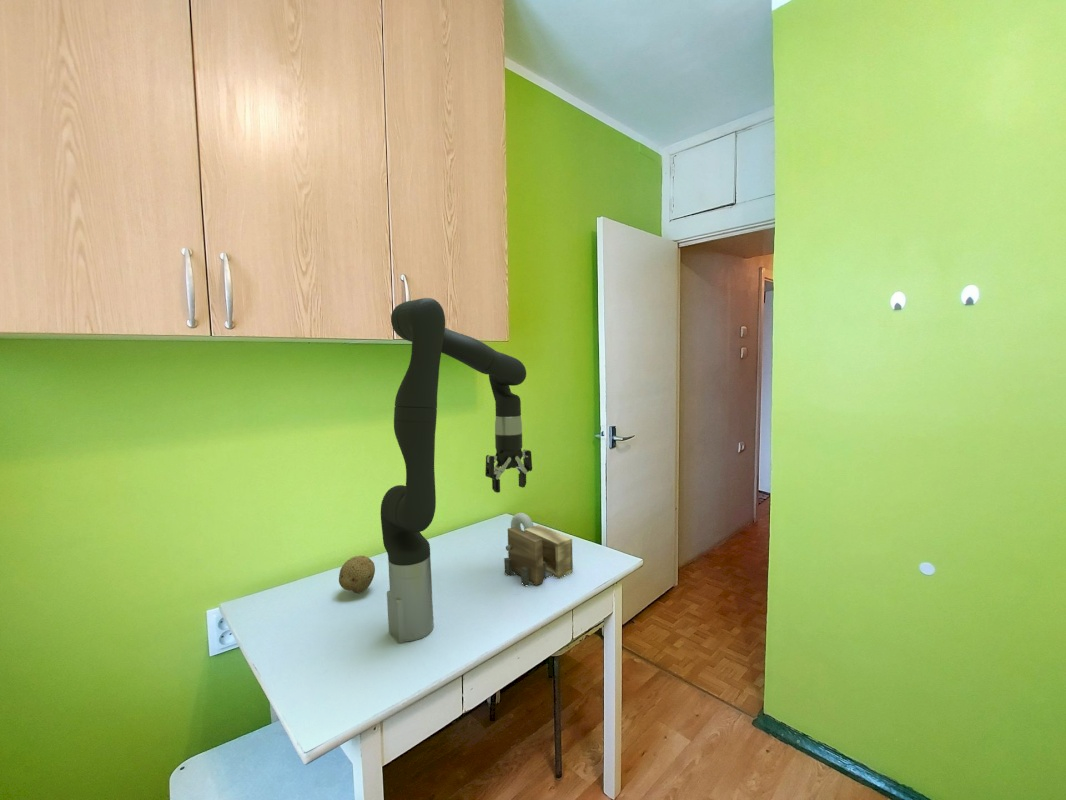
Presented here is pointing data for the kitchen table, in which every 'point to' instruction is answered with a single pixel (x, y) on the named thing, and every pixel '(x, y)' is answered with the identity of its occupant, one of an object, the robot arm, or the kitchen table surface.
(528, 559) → the door
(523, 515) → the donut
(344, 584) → the brown potato
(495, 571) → the kitchen table surface
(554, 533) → the cabinet
